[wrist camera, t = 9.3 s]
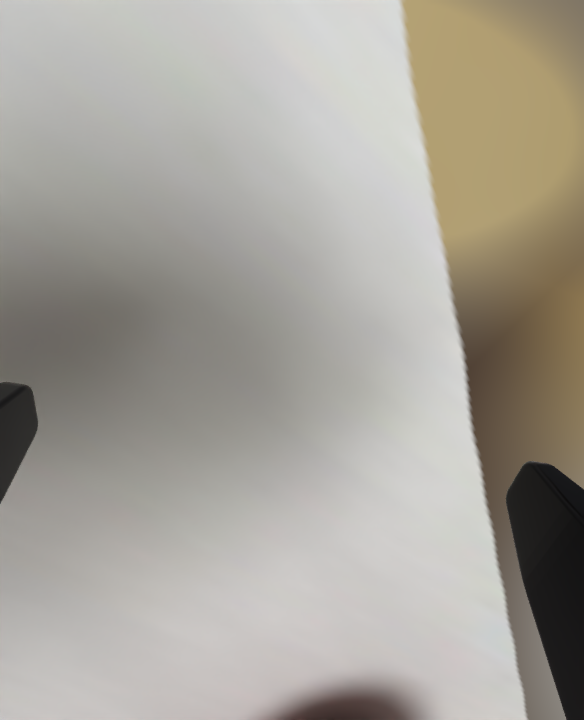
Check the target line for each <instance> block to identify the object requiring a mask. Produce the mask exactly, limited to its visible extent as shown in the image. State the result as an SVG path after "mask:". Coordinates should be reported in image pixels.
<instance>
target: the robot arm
mask: <svg viewBox="0 0 584 720" xmlns="http://www.w3.org/2000/svg"><path fill="white" fill-rule="evenodd" d="M37 427H38V419H37V413H36V408H35V402H34V396H33V392H32V390H31V388H30V387H29V386H27V385H24V384H17V383H10V382H3V383H0V503H1V501H2V500H3V498H4V496H5V494H6V492H7V490H8V488H9V486H10V484H11V482H12V480H13V478H14V476H15V474H16V472H17V470H18V468H19V466H20V464H21V462H22V460H23V458H24V456H25V454H26V452H27V450H28V448H29V446H30V444H31V442H32V441H33V439H34V437H35V434H36V431H37ZM506 504H507V510H508V514H509V519H510V524H511V528H512V533H513V538H514V543H515V548H516V553H517V557H518V562H519V567H520V571H521V575H522V579H523V583H524V587H525V590H526V594H527V597H528V600H529V603H530V606H531V609H532V613H533V616H534V619H535V622H536V625H537V629H538V632H539V635H540V638H541V641H542V644H543V647H544V651H545V654H546V657H547V660H548V663H549V666H550V669H551V672H552V675H553V679H554V682H555V685H556V688H557V691H558V695H559V697H560V701H561V703H562V707H563V710H564V713H565V716H566V720H584V489H582V488H581V487H580V486H579V485H577V484H576V483H575V482H573V481H572V480H571V479H569V478H568V477H567V476H566V475H564V474H563V473H562V472H560V471H559V470H558V469H556V468H555V467H554V466H552V465H550V464H547V463H540V462H534V461H529V462H526V463H525V464H524V465H523V466H522V468H521V469H520V471H519V473H518V474H517V476H516V477H515V479H514V481H513V483H512V484H511V486H510V487H509V489H508V491H507V495H506Z"/></svg>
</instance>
